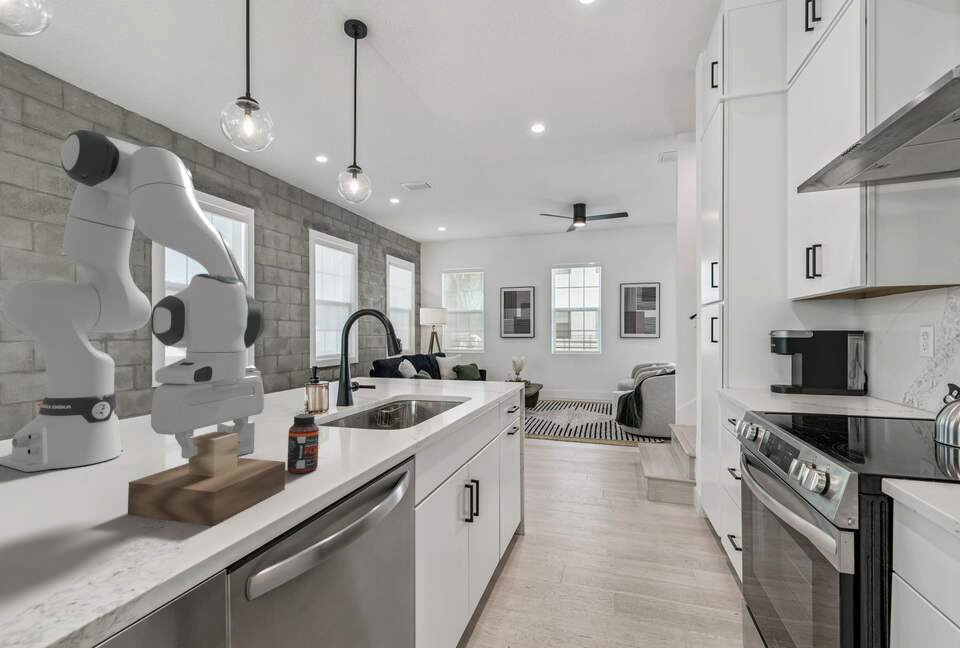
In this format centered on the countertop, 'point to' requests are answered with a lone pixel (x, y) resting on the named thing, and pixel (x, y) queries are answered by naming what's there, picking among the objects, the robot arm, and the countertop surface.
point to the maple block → (214, 454)
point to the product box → (248, 436)
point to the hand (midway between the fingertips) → (213, 450)
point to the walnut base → (205, 492)
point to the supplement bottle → (303, 444)
